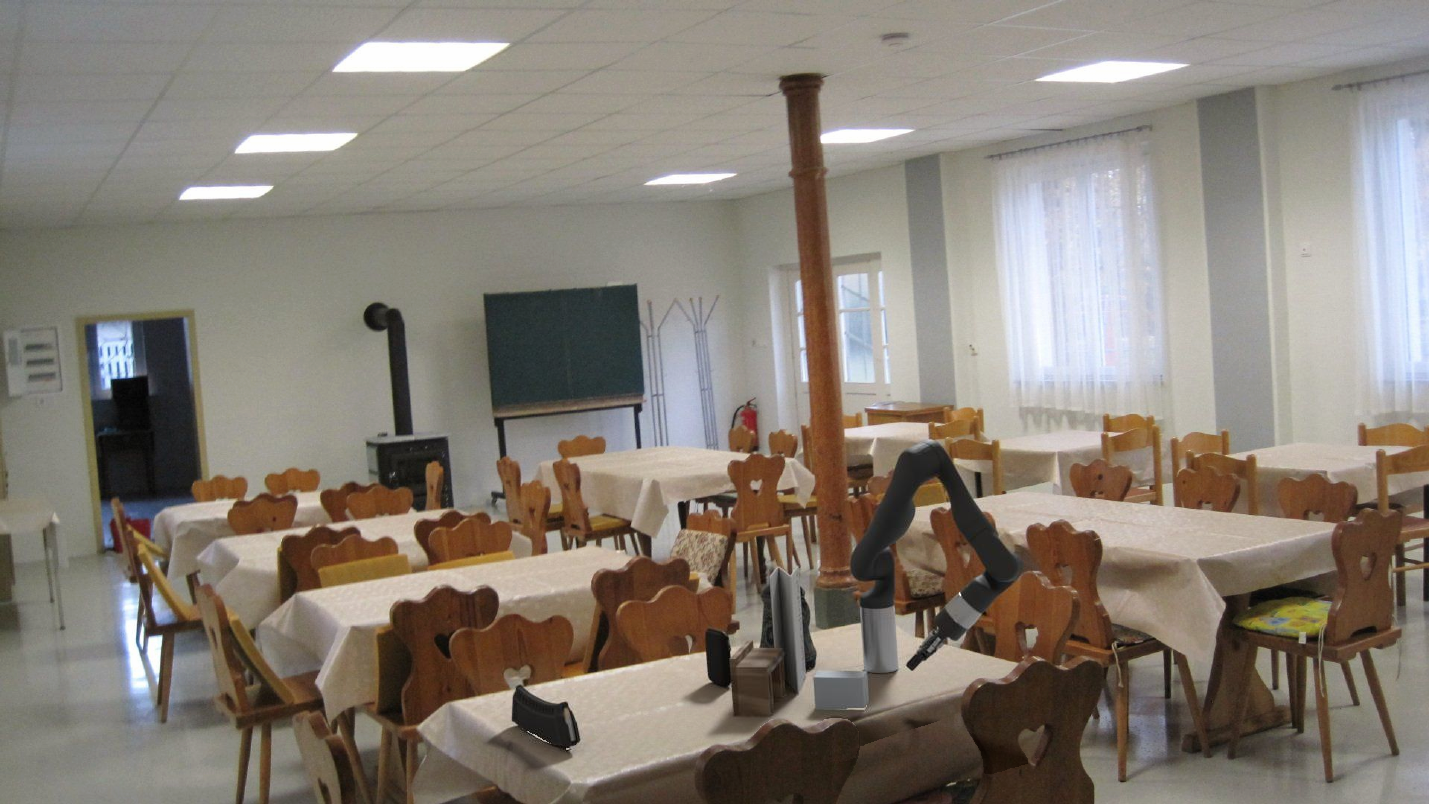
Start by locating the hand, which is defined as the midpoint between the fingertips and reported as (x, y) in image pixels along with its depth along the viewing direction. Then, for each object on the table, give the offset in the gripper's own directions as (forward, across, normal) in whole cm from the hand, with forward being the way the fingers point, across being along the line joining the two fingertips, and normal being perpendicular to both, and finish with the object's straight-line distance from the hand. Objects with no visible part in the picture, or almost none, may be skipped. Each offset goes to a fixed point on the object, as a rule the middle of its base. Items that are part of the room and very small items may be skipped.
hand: (909, 667), depth 293 cm
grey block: (+19, 0, -5) cm, 19 cm away
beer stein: (+33, -36, -19) cm, 52 cm away
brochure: (+30, -17, -16) cm, 38 cm away
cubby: (+33, 0, -19) cm, 38 cm away
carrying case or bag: (+43, -17, -30) cm, 55 cm away
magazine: (+66, +27, -52) cm, 88 cm away
